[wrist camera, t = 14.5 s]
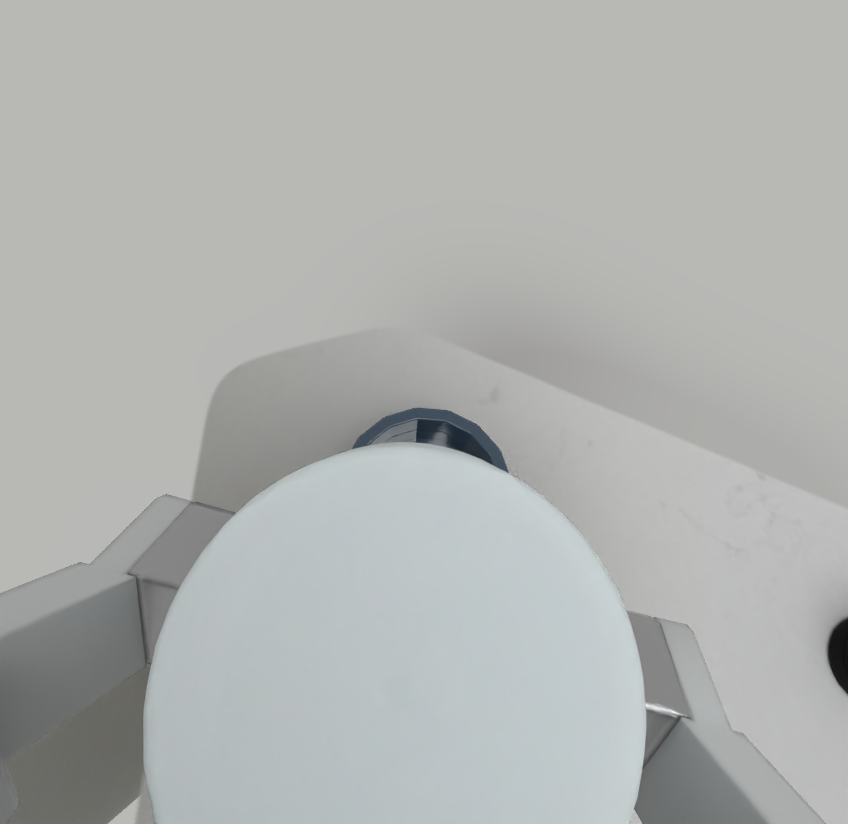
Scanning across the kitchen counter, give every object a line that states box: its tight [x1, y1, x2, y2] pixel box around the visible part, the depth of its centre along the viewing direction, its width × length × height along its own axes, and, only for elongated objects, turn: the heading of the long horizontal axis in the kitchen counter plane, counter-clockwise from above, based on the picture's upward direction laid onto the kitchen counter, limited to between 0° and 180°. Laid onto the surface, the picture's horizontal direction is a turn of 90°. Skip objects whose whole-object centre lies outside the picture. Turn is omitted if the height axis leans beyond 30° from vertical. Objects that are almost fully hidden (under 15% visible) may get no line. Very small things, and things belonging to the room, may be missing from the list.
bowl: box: [352, 408, 509, 473], centre depth 26 cm, size 8×8×4 cm
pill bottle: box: [143, 442, 646, 824], centre depth 9 cm, size 5×5×10 cm
